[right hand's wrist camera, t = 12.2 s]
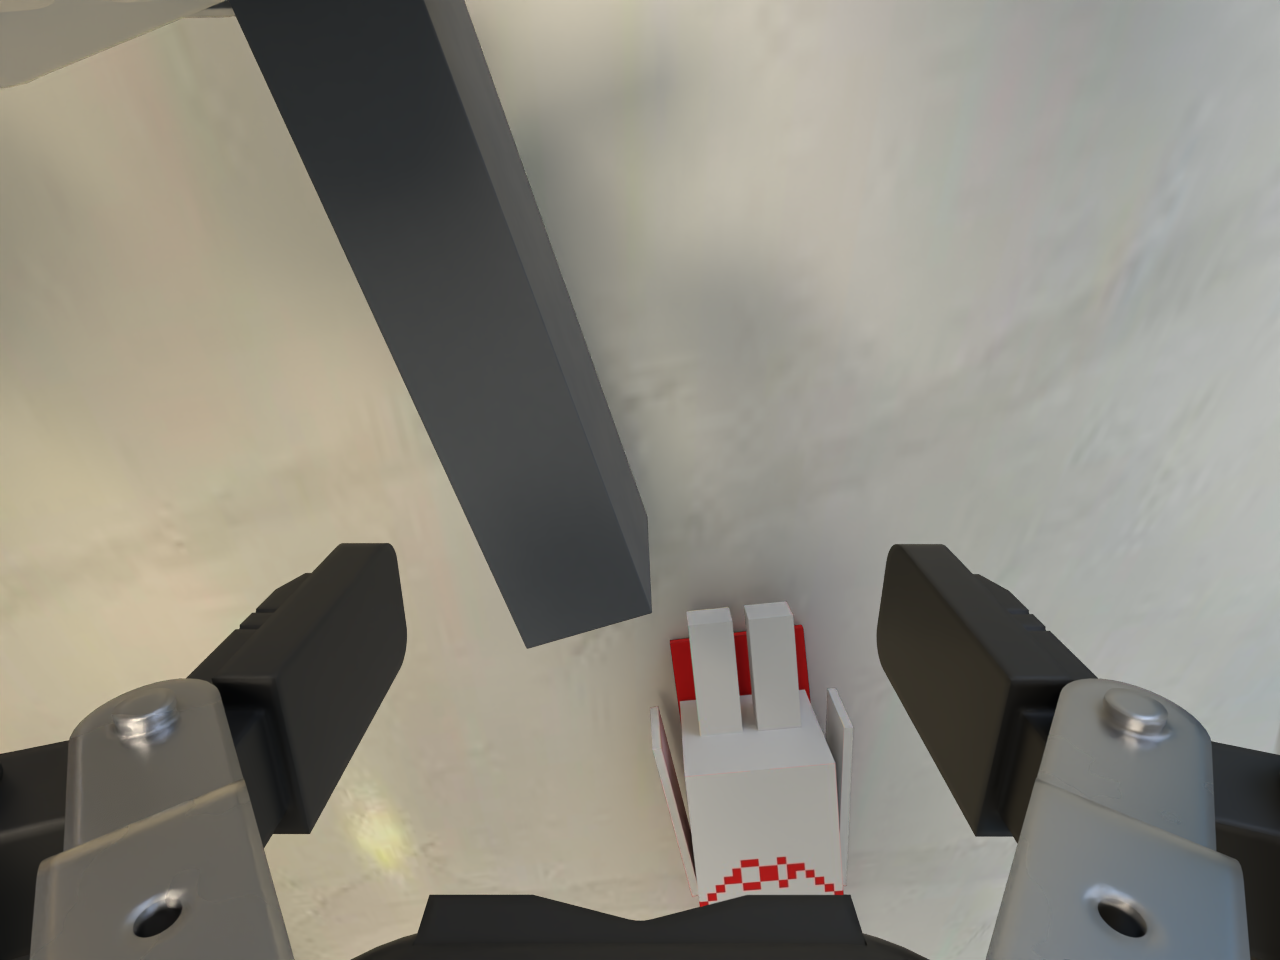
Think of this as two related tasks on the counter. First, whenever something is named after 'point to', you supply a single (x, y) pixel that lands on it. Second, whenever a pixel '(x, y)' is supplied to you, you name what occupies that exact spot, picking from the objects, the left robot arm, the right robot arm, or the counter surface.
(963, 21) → the counter surface
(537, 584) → the bar
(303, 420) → the counter surface
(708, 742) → the toy
